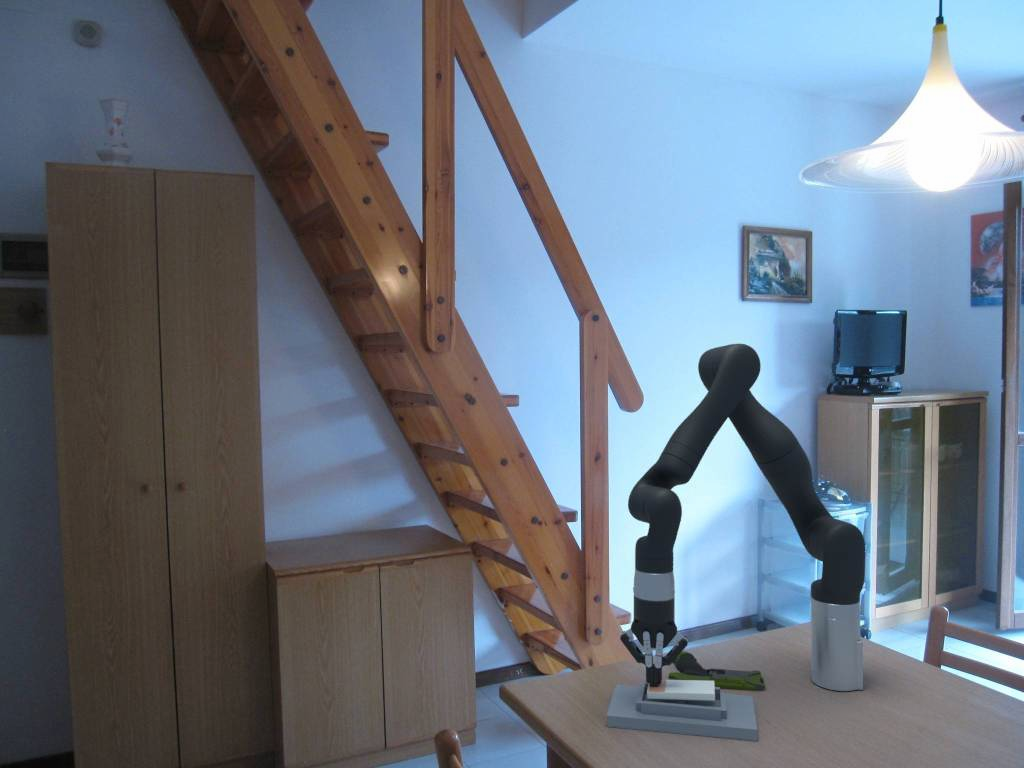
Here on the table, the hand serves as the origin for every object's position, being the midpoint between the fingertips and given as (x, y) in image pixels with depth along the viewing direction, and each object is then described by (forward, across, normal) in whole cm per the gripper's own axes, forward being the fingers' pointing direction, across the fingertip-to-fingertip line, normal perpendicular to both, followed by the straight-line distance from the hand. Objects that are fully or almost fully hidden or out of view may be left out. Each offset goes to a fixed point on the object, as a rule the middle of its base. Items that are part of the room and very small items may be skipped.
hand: (653, 685), depth 145 cm
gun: (+6, -11, -21) cm, 25 cm away
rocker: (0, -5, 0) cm, 5 cm away
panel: (+5, -5, 0) cm, 7 cm away
